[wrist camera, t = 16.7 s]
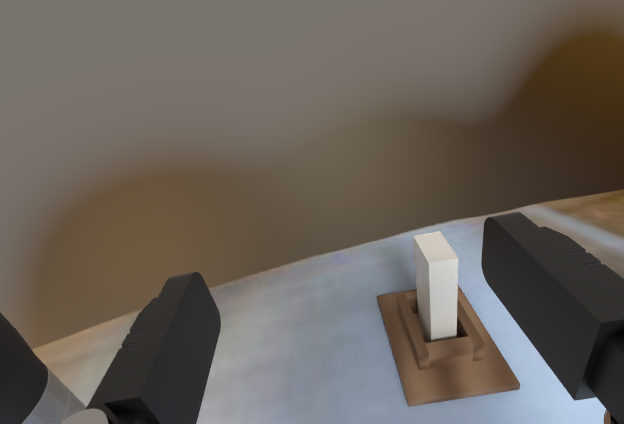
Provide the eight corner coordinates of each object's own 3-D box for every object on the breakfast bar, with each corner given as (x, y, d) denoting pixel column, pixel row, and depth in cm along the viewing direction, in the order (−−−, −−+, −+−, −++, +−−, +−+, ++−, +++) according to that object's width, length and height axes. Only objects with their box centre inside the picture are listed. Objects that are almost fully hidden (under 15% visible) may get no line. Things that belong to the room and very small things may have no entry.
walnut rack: (408, 406, 36) (406, 385, 34) (377, 300, 50) (375, 281, 48) (518, 389, 35) (523, 366, 33) (456, 287, 49) (456, 266, 47)
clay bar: (431, 350, 40) (428, 263, 33) (418, 319, 44) (413, 236, 37) (456, 346, 40) (458, 257, 33) (440, 315, 44) (439, 231, 37)
